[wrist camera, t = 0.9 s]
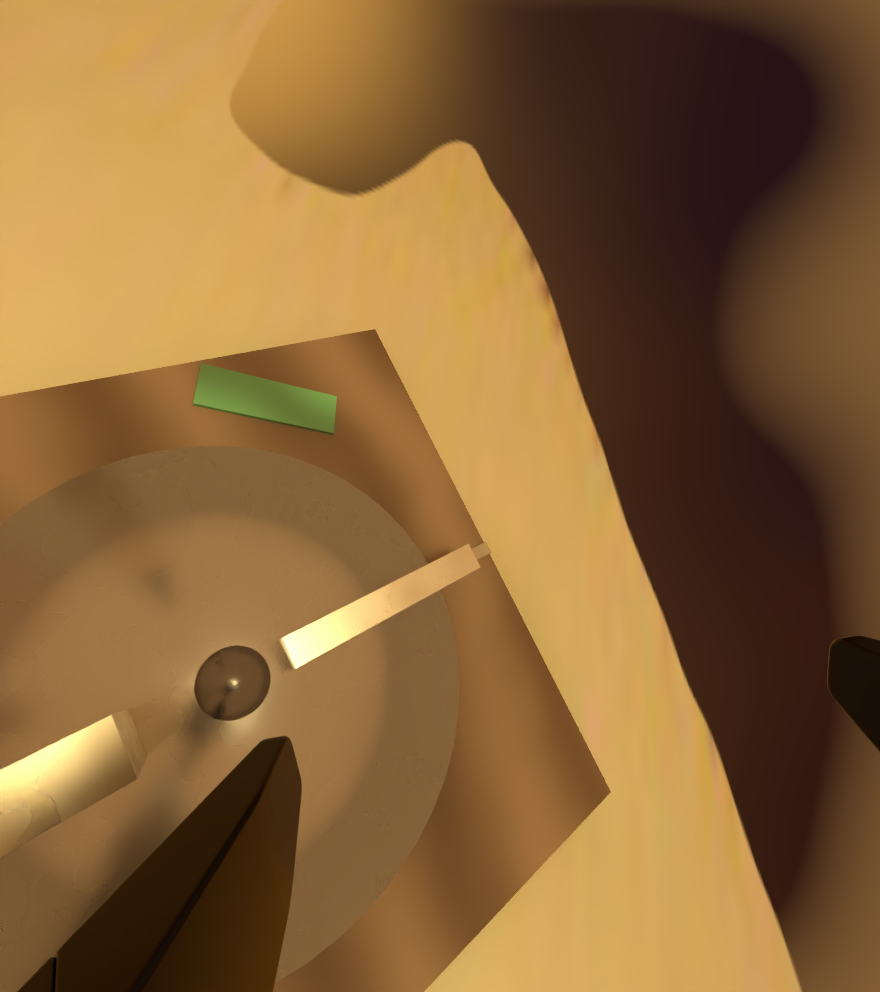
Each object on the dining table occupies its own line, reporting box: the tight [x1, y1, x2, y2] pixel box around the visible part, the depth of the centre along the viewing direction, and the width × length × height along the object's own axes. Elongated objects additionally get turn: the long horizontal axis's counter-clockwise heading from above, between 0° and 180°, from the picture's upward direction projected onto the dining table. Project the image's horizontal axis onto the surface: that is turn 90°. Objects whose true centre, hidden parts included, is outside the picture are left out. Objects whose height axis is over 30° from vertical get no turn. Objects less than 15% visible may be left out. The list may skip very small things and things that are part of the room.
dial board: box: [0, 329, 610, 992], centre depth 19 cm, size 26×26×2 cm
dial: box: [0, 446, 480, 992], centre depth 16 cm, size 22×18×6 cm
